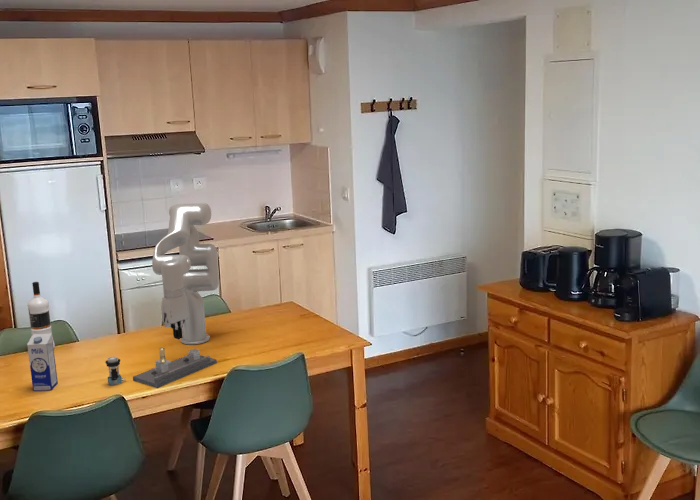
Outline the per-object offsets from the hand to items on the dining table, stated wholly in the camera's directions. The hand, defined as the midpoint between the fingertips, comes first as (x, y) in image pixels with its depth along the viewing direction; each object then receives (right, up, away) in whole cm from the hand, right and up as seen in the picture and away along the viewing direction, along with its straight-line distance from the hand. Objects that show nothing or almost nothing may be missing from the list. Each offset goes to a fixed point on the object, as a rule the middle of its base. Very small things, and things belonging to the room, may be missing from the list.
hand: (178, 337), depth 288 cm
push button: (-21, -16, -6) cm, 28 cm away
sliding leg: (-6, -13, -3) cm, 15 cm away
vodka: (-66, -9, +34) cm, 75 cm away
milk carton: (-48, -18, -8) cm, 51 cm away
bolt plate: (-2, -13, +4) cm, 14 cm away
